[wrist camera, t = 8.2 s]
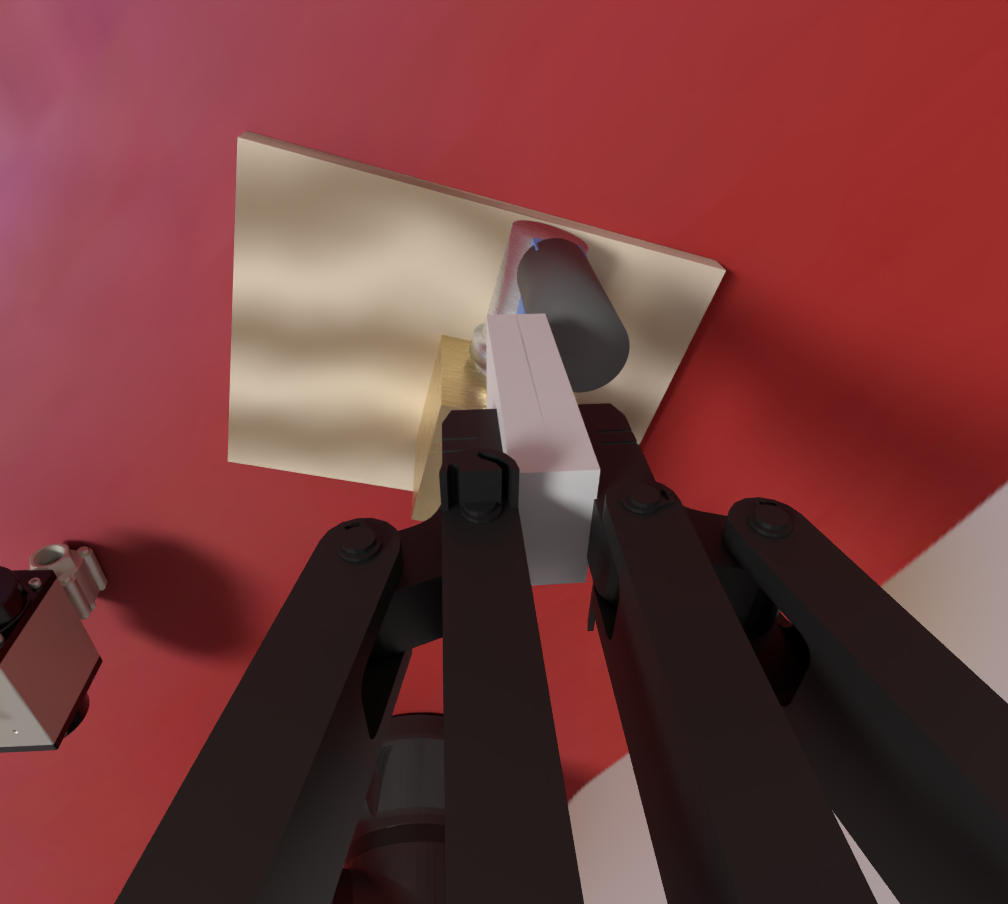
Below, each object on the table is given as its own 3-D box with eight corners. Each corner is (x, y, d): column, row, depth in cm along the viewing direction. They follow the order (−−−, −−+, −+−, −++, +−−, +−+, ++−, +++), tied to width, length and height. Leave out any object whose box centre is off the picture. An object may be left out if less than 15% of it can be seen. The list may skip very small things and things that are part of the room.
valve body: (509, 506, 41) (522, 601, 34) (403, 489, 39) (396, 585, 33) (610, 239, 31) (654, 303, 24) (473, 201, 29) (482, 259, 23)
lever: (459, 516, 30) (463, 633, 24) (513, 224, 22) (538, 300, 16) (524, 521, 30) (542, 637, 25) (600, 238, 22) (652, 317, 17)
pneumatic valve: (82, 499, 39) (-34, 662, 30) (137, 617, 46) (57, 780, 37) (-11, 499, 39) (-160, 666, 29) (58, 619, 46) (-44, 785, 36)
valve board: (596, 506, 43) (601, 521, 42) (234, 446, 38) (227, 461, 37) (715, 260, 33) (726, 270, 32) (246, 130, 28) (237, 137, 27)
